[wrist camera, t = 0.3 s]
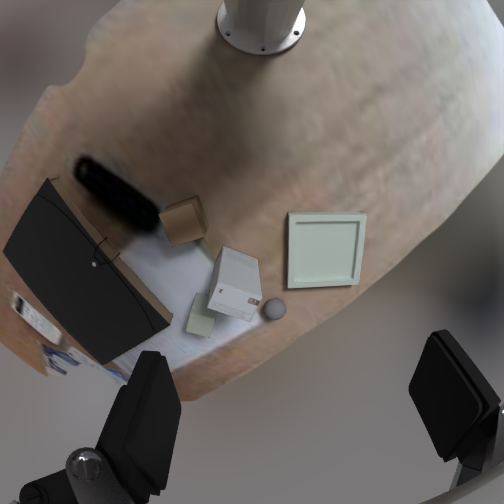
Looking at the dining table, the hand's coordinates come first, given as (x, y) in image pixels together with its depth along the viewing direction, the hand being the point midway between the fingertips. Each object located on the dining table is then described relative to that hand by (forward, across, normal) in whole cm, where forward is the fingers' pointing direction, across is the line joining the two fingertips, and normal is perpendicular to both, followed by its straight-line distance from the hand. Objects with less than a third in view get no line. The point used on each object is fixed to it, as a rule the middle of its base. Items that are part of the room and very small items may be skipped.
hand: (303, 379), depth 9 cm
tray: (+35, -10, +9) cm, 38 cm away
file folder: (+36, +36, +14) cm, 53 cm away
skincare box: (+36, +4, +11) cm, 38 cm away
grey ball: (+36, -1, +19) cm, 41 cm away
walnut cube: (+35, +12, +3) cm, 37 cm away
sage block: (+36, +11, +19) cm, 42 cm away
